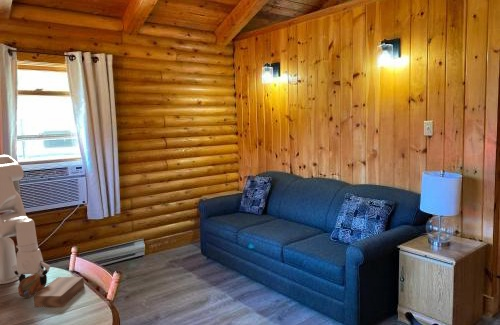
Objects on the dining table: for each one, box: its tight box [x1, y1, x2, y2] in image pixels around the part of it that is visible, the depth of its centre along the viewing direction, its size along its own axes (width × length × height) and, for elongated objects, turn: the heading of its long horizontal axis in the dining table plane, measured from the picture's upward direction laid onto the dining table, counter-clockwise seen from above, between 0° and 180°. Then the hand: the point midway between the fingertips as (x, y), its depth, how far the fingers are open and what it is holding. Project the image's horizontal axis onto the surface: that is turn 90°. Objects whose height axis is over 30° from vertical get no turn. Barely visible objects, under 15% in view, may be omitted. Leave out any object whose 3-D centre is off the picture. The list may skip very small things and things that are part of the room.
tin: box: [17, 273, 48, 299], centre depth 179 cm, size 15×3×8 cm, turn 168°
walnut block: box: [32, 276, 85, 309], centre depth 174 cm, size 12×18×5 cm, turn 174°
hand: (33, 284), depth 179 cm, fingers open, 9 cm apart
